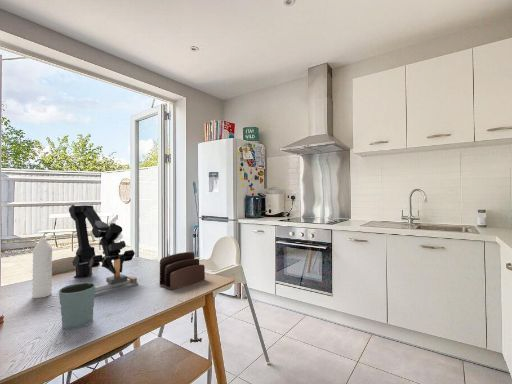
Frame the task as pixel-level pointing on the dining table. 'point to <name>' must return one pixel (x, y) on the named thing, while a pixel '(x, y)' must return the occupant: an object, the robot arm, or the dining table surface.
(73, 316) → the green planter pot
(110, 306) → the dining table surface
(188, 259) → the letter holder
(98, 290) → the rail
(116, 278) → the carriage
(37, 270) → the water bottle
